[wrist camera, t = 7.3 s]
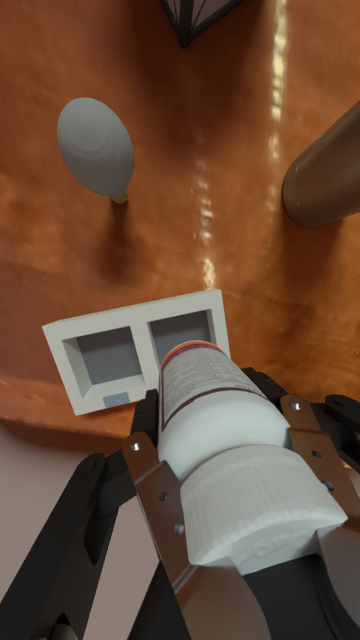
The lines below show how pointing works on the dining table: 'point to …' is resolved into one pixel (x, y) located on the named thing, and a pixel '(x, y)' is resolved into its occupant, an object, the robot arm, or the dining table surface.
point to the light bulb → (96, 147)
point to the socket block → (130, 346)
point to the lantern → (195, 16)
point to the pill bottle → (235, 465)
